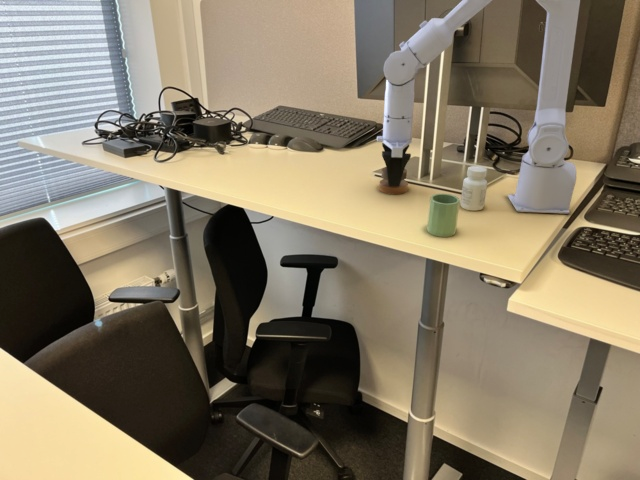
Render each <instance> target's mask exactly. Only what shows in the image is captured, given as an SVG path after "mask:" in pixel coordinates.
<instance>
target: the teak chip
mask: <svg viewBox="0 0 640 480" xmlns="http://www.w3.org/2000/svg"><path fill="white" fill-rule="evenodd" d="M408 186H409V183H408V181H406V179H404V180H401V182H400V185H399V186H389V183H388V180H385V179H383V178H382V179H380V180H379V183H378V190H379V191H380V192H381V193H383V194H388V195H401V194H405V193H407V192H408V188H409V187H408Z"/></svg>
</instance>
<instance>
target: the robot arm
mask: <svg viewBox="0 0 640 480" xmlns="http://www.w3.org/2000/svg"><path fill="white" fill-rule="evenodd" d="M535 1H536V2H537V4H538V5H540V6H541V7H542V8H543V9H544V10H545V11H546V20H545V30H544V39H543V47H542V58H541V65H540V73H539V74H540V75H539V85H538V92H537V93H538V94H537V103H536V108H535V109H536V110H535V113H534V120H533V121H534V122H533V124H532V126H531V127H530V128H529V131H528V132H527V136H526V139H527V141H526V142H527V144H528V151H527V152H525V154H523V155H522V158H521V164H520V169H519V173H518V179H517V182H516V183H517V184H516V188H515V194H513V193H511V194H510V193H509V194H508V195H507V197H508V199H509V202H511V204H512V205H513V208H514V210H515V211H516V212H519V213H539V214H540V213H541V214H543V213H544V214H565V215H566V214H570V212H571V211H570V210H569V209H570V207H571V202H572V198H573V195H574V190H575V187H576V183H577V167H576V165H575V163H574V162H572V161H565V158H566V156H567V154H568V152H569V148H570V144H569V140H568V139H567V136H566V123H567V122H566V121H567V120H566V110H567V109H566V108H567V101H568V94H569V85H570V78H571V72H572V65H573V63H572V62H573V56H574V49H575V42H576V35H577V27H578V20H579V19H578V18H579V12H580V4H581V0H535ZM491 2H493V0H461V1H460V2H458V4H457V5H456V6H455V7H454V8H452V10H450V12H448V13H447V14H446V15H445V16H444V17H443V18H439V17H433V18H432V17H431V19H430V20H428V21H427V20H423V21H422V22H421V23H420V24H419V28H420V29H418V31H417V32H415V34H413V35H412V36H411V37H410V38H409V39H408V40H407V41H402V42H400V43H399V48H400V50H396V51H393V52H391V53H390V54H389V56H388V57H387V58H386V59H385V61H384V64H383V75H384V77H385V91H384V102H383V104H384V105H383V123H382V135H377V136H376V142H378V143H382V144H381V146H382V148H383V151H381V156H382V160H383V161H384V164H385V167H386V168H387V175H388V183H389V186H399V185H400V182H401V179H402V175H403V171H404V169H406V166H407V164H408V162H409V161H410V159H411V157H412V154H411V153H407V151H408V150H409V147H410V144H412V142H413V137H412V130H413V119H414V118H413V117H414V108H415V107H414V106H415V94H416V93H415V82H416V78H415V77H416V76H417V75H418V73H419V71H420V69H424V68H425V67H427V66H428V65H430V63H431V62H433V61H434V60H435V59H436V58H438V57H439V56H440V55H441V54H442V53H444V51H446V50H447V49H448V48H449V47H450V46H452V44H453V39H454V34H455V32H456V31H457V30H458V29H460V28H461V27H462V26H463V25H465V24H466V23H467V22H468V21H470V20H471V19H472V18H473V17H474V16H475V15H476V14H478V13H479V12H480V11H481V10H483V9H484V8H486V6H488V5H489V4H490V3H491Z"/></svg>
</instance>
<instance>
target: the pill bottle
mask: <svg viewBox="0 0 640 480" xmlns="http://www.w3.org/2000/svg"><path fill="white" fill-rule="evenodd" d="M487 174H488V169H487V168H486V167H484V166H480V165H471V166H468V167H467V172H466V176H467V177H465V178H464V179H463V180H462V181H463V182H462V188H461V196H460V205H459V206H460V208H462V209H464V210H467V211H474V212H475V211H481V210H482V209H484V206H485V202H486V194H487V188H488V181H487V179H486V178H487Z"/></svg>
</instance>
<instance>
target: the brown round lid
mask: <svg viewBox="0 0 640 480" xmlns="http://www.w3.org/2000/svg"><path fill="white" fill-rule="evenodd" d="M407 173H408V170H407V169H406V168H405V169H404V171H403V175H402V179H401V180H406V179H407ZM381 178H382V179H385V180H388V175H387V168H386V166H384V167H382V169H381Z"/></svg>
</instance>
